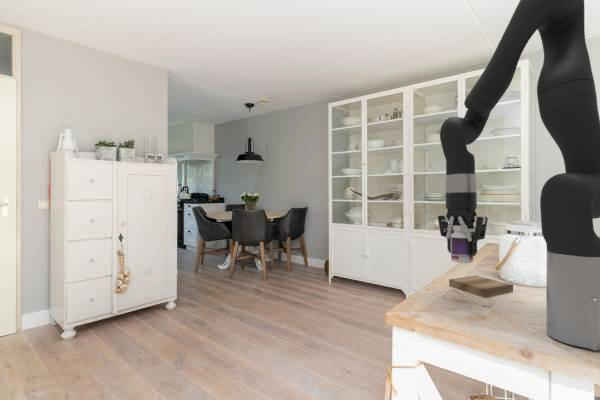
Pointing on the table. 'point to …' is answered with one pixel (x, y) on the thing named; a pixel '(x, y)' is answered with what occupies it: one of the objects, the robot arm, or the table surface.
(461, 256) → the pill bottle
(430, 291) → the table surface
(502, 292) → the walnut block
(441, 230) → the robot arm
